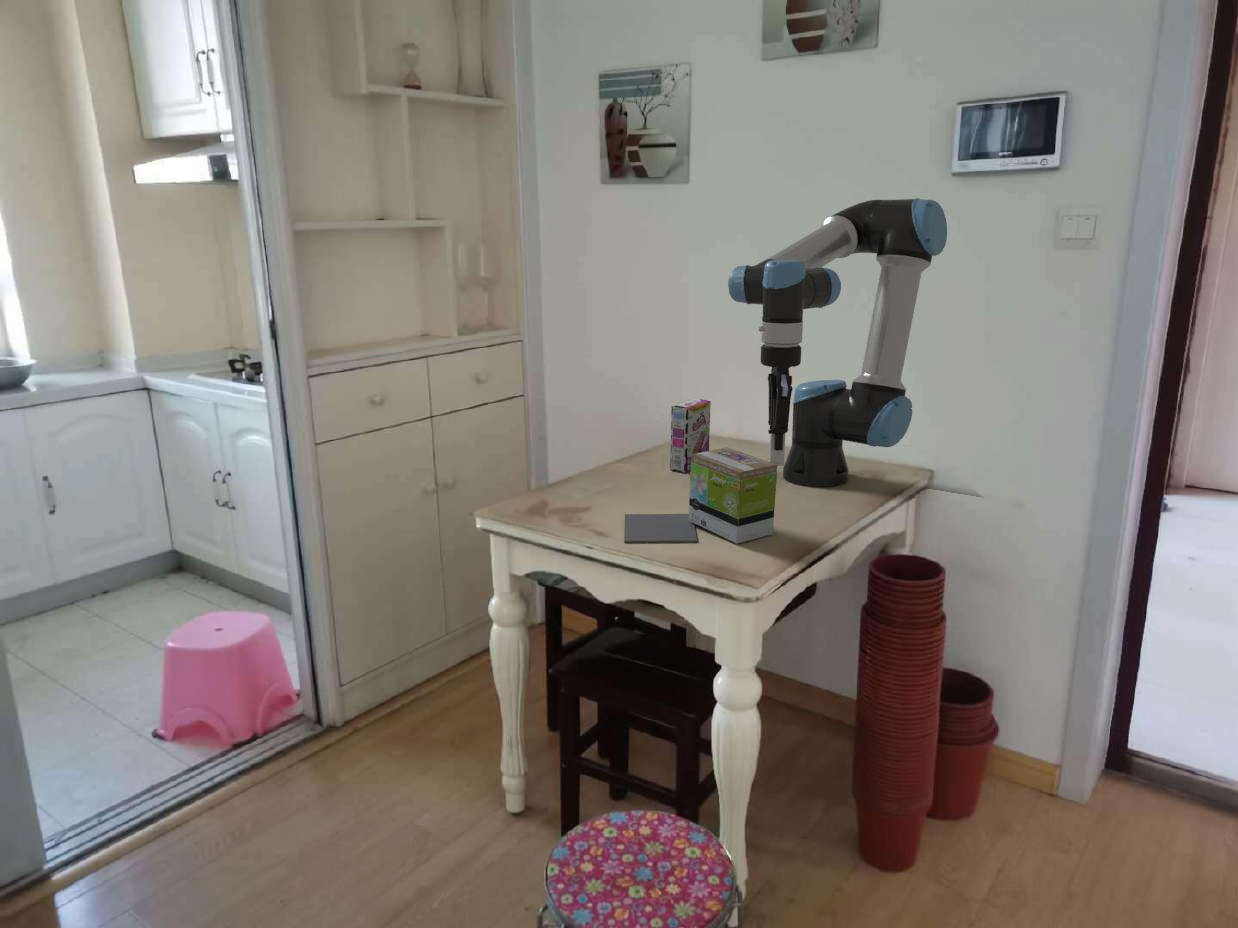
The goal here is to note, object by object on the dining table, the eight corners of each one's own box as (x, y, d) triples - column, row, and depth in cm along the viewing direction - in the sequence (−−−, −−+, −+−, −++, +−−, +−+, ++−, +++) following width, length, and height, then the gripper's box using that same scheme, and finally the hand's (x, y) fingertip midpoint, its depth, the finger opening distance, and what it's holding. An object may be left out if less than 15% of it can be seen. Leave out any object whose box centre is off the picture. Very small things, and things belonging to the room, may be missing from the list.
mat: (691, 515, 191) (691, 513, 190) (697, 542, 175) (697, 540, 175) (624, 515, 191) (624, 514, 191) (624, 542, 175) (624, 540, 175)
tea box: (686, 522, 185) (689, 452, 181) (723, 514, 190) (727, 445, 186) (736, 545, 173) (740, 470, 169) (774, 535, 179) (779, 462, 175)
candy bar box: (687, 474, 220) (687, 407, 216) (669, 471, 223) (669, 405, 219) (710, 463, 229) (711, 399, 225) (693, 460, 232) (694, 397, 228)
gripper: (756, 339, 178) (752, 456, 184) (766, 349, 165) (762, 474, 172) (794, 339, 178) (789, 456, 184) (808, 349, 165) (802, 473, 172)
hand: (776, 464), depth 178 cm, fingers closed
